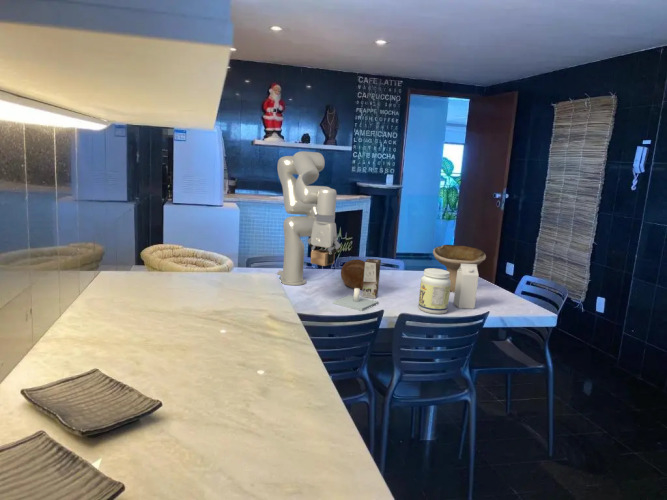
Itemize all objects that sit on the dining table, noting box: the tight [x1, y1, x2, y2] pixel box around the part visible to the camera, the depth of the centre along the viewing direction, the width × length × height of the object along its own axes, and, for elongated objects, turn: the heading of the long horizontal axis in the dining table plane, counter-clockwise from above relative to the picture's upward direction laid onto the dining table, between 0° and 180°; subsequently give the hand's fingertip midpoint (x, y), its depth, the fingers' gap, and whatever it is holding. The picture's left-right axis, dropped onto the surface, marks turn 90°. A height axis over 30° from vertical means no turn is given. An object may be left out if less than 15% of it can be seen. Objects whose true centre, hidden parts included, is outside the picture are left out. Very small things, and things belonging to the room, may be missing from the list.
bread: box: [340, 259, 365, 291], centre depth 246 cm, size 16×29×11 cm, turn 4°
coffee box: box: [361, 258, 382, 300], centre depth 225 cm, size 9×6×16 cm
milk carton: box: [453, 264, 479, 310], centre depth 218 cm, size 7×7×19 cm
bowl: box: [432, 244, 487, 293], centre depth 248 cm, size 26×25×20 cm
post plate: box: [332, 288, 379, 312], centre depth 211 cm, size 14×14×6 cm
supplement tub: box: [417, 267, 451, 315], centre depth 209 cm, size 12×12×17 cm
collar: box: [310, 248, 336, 267], centre depth 207 cm, size 7×7×5 cm
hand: (322, 261), depth 207 cm, fingers closed on collar, 7 cm apart
